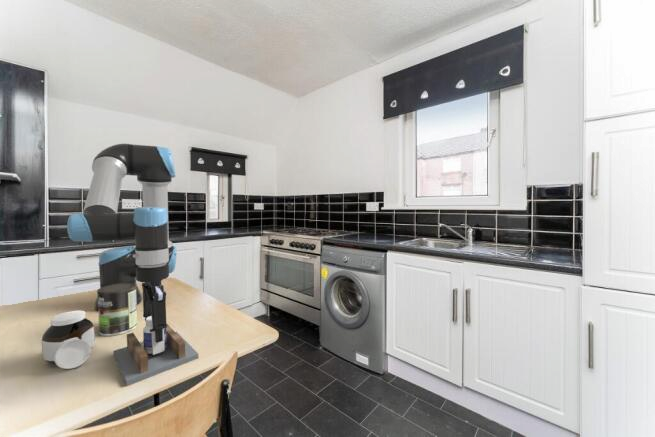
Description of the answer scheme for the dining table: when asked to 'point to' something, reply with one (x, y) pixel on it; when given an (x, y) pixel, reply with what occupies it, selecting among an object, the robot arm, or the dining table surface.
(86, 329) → the spread jar
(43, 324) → the dining table surface
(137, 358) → the wooden rail pair
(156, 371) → the plate
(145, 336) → the pill bottle
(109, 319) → the coffee can
